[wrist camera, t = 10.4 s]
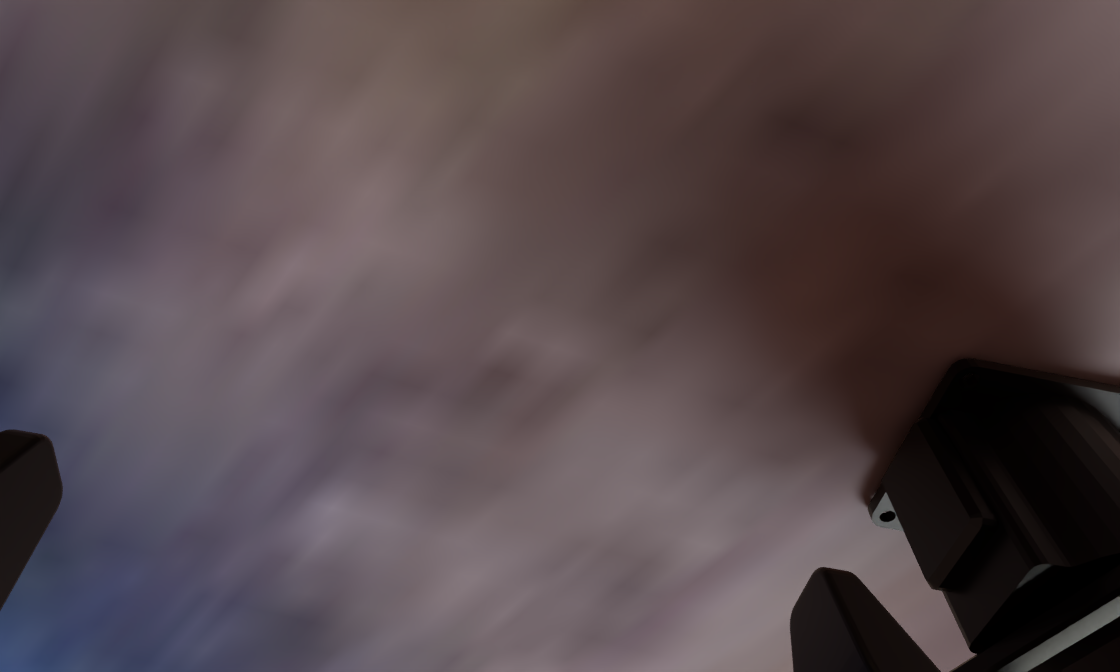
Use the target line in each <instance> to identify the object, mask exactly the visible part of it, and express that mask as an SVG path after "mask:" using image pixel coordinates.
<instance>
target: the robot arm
mask: <svg viewBox="0 0 1120 672" xmlns="http://www.w3.org/2000/svg"><path fill="white" fill-rule="evenodd" d="M968 374H973V375H972V376H971V377H970V378H968V379H966V380H962V378H963V377H964V376H966V375H968ZM62 491H63V486H62V481H61V477H60V472H59V468H58V464H57V460H56V456H55V452H54V447H53V444H52V441H51V440H50V439H49V438H48V437H47V436H45V435H43V434H38V433H32V432H26V431H20V430H5V431H2V432H0V610H1V609H2V607H3V605H4V603H5V602H6V600H7V598H8V596H9V594H10V593H11V591H12V589H13V587H14V586H15V584H16V582H17V580H18V578H19V577H20V575H21V573H22V571H23V569H24V568H25V566H26V564H27V562H28V561H29V559H30V557H31V555H32V553H33V552H34V550H35V548H36V546H37V545H38V543H39V541H40V539H41V537H42V536H43V534H44V532H45V530H46V528H47V527H48V525H49V523H50V521H51V520H52V518H53V516H54V514H55V512H56V511H57V509H58V507H59V504H60V501H61V498H62ZM885 511H888V512H886V513H883V512H885ZM868 512H869V515H870V517H871V519H872V522H873V523H874V524H875V525H876V526H879V527H883V528H889V529H894V530H900V531H904V533H905V535H906V537H907V539H908V542H909V544H910V546H911V548H912V550H913V553H914V555H915V557H916V559H917V562H918V564H919V566H920V568H921V570H922V573H923V575H924V577H925V579H926V581H927V582H928V584H929V586H930V587H931V588H932V589H935V590H940V591H942V592H943V594H944V596H945V598H946V600H947V603H948V605H949V607H950V609H951V611H952V613H953V615H954V618H955V620H956V622H957V624H958V626H959V628H960V630H961V632H962V635H963V637H964V639H965V641H966V643H967V645H968V647H969V649H970V651H971V652H973V653H976V654H977V655H975V656H973V657H972V658H970V659H969V660H967V661H965V662H964V663H962V664H961V665H959V666H958V667H956V668H954V669H953V670H951V671H950V672H1120V387H1118V386H1113V385H1108V384H1103V383H1097V382H1092V381H1087V380H1082V379H1077V378H1071V377H1066V376H1061V375H1056V374H1050V373H1045V372H1040V371H1035V370H1030V369H1024V368H1019V367H1014V366H1009V365H1003V364H998V363H993V362H988V361H983V360H977V359H963V360H959V361H957V362H956V363H954V364H952V365H951V367H950V368H949V369H948V370H947V372H946V374H945V376H944V377H943V379H942V381H941V382H940V384H939V386H938V388H937V389H936V391H935V393H934V394H933V396H932V398H931V400H930V401H929V403H928V405H927V406H926V408H925V410H924V412H923V413H922V415H921V417H920V418H919V420H918V421H917V422H916V423H915V424H914V425H913V427H912V429H911V430H910V432H909V434H908V435H907V437H906V439H905V441H904V442H903V444H902V446H901V447H900V449H899V451H898V453H897V454H896V456H895V458H894V460H893V461H892V463H891V465H890V466H889V468H888V470H887V472H886V473H885V475H884V477H883V478H882V484H881V485H880V487H879V489H878V490H877V492H876V494H875V496H874V497H873V499H872V501H871V502H870V504H869V507H868ZM790 633H791V646H792V658H793V671H794V672H941V671H940V670H939V669H938V668H937V667H936V666H935V665H934V663H933V662H932V661H931V660H930V659H929V658H928V657H927V655H926V654H925V653H924V652H923V651H922V650H921V649H920V647H919V646H918V645H917V644H916V643H915V642H914V641H913V640H912V638H911V637H910V636H909V635H908V634H907V633H906V632H905V630H904V629H903V628H902V627H901V626H900V625H899V624H898V622H897V621H896V620H895V619H894V618H893V617H892V616H891V615H890V613H889V612H888V611H887V610H886V609H885V608H884V607H883V605H882V604H881V603H880V602H879V601H878V600H877V599H876V597H875V596H874V595H873V594H872V593H871V592H870V591H869V590H868V588H867V587H866V586H865V585H864V584H863V583H862V582H861V580H860V579H859V578H858V577H857V576H856V575H854V574H853V573H851V572H849V571H844V570H838V569H832V568H826V567H820V568H818V569H817V570H815V571H814V573H813V574H812V575H811V577H810V579H809V581H808V583H807V584H806V586H805V588H804V590H803V591H802V593H801V595H800V597H799V599H798V600H797V602H796V604H795V606H794V608H793V610H792V614H791V619H790Z"/></svg>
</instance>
